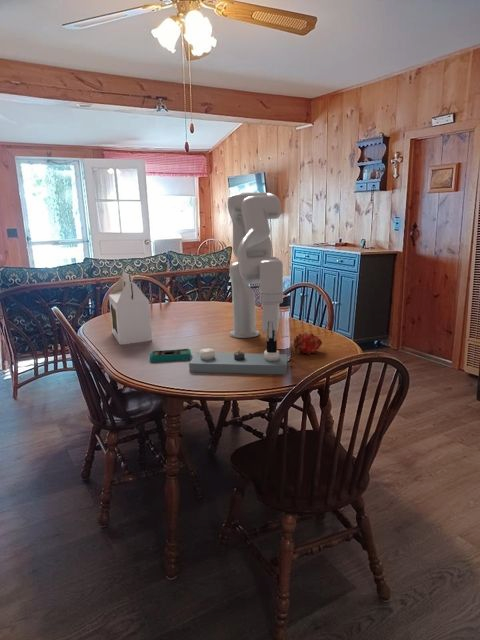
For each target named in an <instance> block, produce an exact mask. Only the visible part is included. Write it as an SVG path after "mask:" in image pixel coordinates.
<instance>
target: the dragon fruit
mask: <svg viewBox="0 0 480 640" xmlns="http://www.w3.org/2000/svg"><path fill="white" fill-rule="evenodd" d="M322 344H323V341H322V340H321V338H319V336H317V335H314V333H313V332H310V333H308V332H305V333H298V335H296V337H294V339H293V348H294V350H295V351H296V352H300V354H301V353H302V354H301V355H303V354H304V353H305V354H307V355H310V354H312V353H313V354H317V353H318V350H319V349H320V347H321V346H322Z"/></svg>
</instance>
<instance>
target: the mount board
mask: <svg viewBox="0 0 480 640" xmlns="http://www.w3.org/2000/svg"><path fill="white" fill-rule="evenodd" d="M234 353H235V352H215V358H214V359H210V360H203V359H201V358H200V352H196V354H195V355H194V356H193V358H191V359H190V360H189V361H190V362H189V363H188V367H189V371H188V372H189V373H215V374H217V373H222V374H223V373H224V374H254V375H257V374H258V375H263V374H264V375H286V374H287V369H288V359H289V358H288V354H287V353H279V360H277V361H266V360H265V359H264V353H245V352H244V353H245V359H244V360H235V359H234Z"/></svg>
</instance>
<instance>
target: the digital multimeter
mask: <svg viewBox="0 0 480 640" xmlns="http://www.w3.org/2000/svg"><path fill="white" fill-rule="evenodd" d="M191 360H192V353H191V349H189V348H181V349H168V350H167V349H165V350H153V351H151V353H150V354H149V361H150V363H161V362H164V361H165V362H177V361H191Z"/></svg>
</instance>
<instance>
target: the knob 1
mask: <svg viewBox="0 0 480 640" xmlns="http://www.w3.org/2000/svg"><path fill="white" fill-rule="evenodd" d="M199 353H200V358H201V359H203V360H210V359H214V358H215V353H216V351H215V349H214V348H209V347H208V348H202V349H200V350H199Z"/></svg>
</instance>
